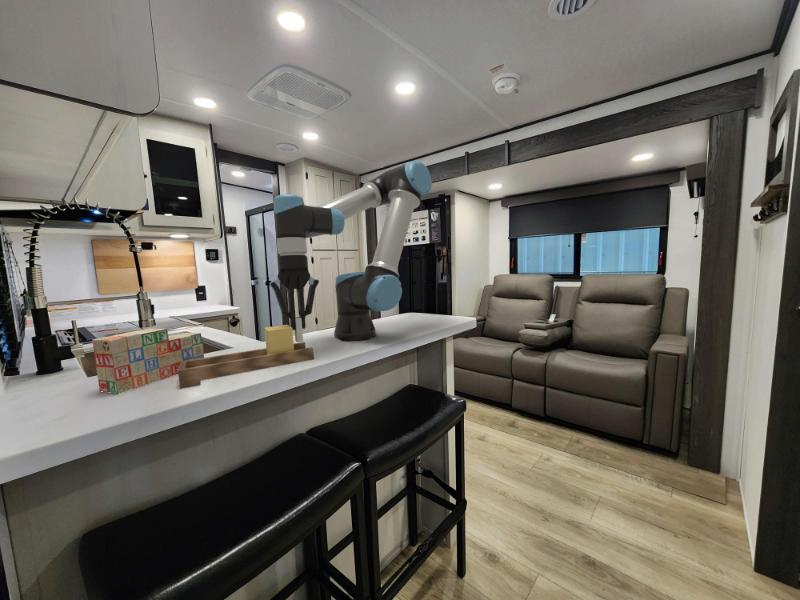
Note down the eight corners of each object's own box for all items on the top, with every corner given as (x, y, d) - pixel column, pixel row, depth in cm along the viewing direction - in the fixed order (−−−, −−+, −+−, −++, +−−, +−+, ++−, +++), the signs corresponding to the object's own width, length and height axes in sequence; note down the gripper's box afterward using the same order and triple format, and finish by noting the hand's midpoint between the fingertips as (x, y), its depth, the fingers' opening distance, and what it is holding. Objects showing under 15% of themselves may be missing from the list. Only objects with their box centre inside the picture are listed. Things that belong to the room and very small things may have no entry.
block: (290, 356, 90) (287, 324, 90) (294, 360, 85) (292, 327, 84) (267, 360, 87) (264, 327, 86) (271, 365, 82) (267, 330, 81)
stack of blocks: (189, 364, 91) (184, 321, 90) (205, 365, 89) (200, 321, 88) (98, 393, 71) (91, 338, 70) (117, 395, 69) (109, 339, 68)
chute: (305, 355, 94) (304, 342, 94) (314, 362, 86) (313, 348, 86) (182, 377, 79) (181, 361, 79) (180, 388, 71) (177, 371, 71)
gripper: (312, 255, 93) (318, 335, 95) (264, 256, 86) (271, 342, 88) (320, 253, 86) (326, 339, 89) (269, 254, 80) (276, 347, 82)
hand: (299, 340), depth 88 cm, fingers closed
